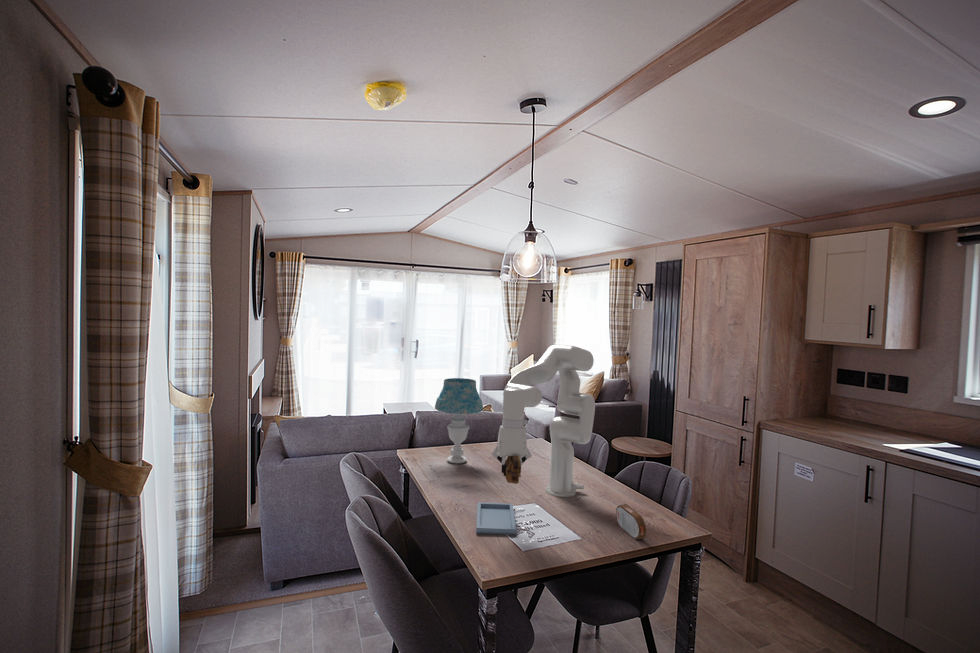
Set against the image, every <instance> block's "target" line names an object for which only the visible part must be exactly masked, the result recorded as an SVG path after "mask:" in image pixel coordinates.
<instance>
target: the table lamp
mask: <svg viewBox="0 0 980 653" xmlns="http://www.w3.org/2000/svg"><path fill="white" fill-rule="evenodd" d="M434 409H435V411H437V412H441V413H445V414H454V417H452V418H450V421H451V423H449V424H448V425H447V426H446V429H447V430H448V432H447V433H448V437H449V439H450V440H451V441H452V442H453V444H454V445H453V446H452V448H451V449H450V455H449V456H448V457H447V458H446V461H447V462H448V463H452V464H463V463H465V462H467V460H468V459H467V457H466V456H464V450H465V449H463V447H462V445H461V444H462V442H464V441H465V440H466V439H467V437H468V431H469V430H470V425H469V424H466V421H467V419H466V418H464V417H463V415H469V414H470V415H471V414H477V413H481V412H483V411H484V406H483V400H482V399H481V397H480V394H479V392H478V389H477V381H476V379H471V378H462V377H453V378H452V377H451V378H445V379H444V380H443V385H442V390H441V391H440V393H439V396H438V397H437V398H436V400H435V403H434Z"/></svg>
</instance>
